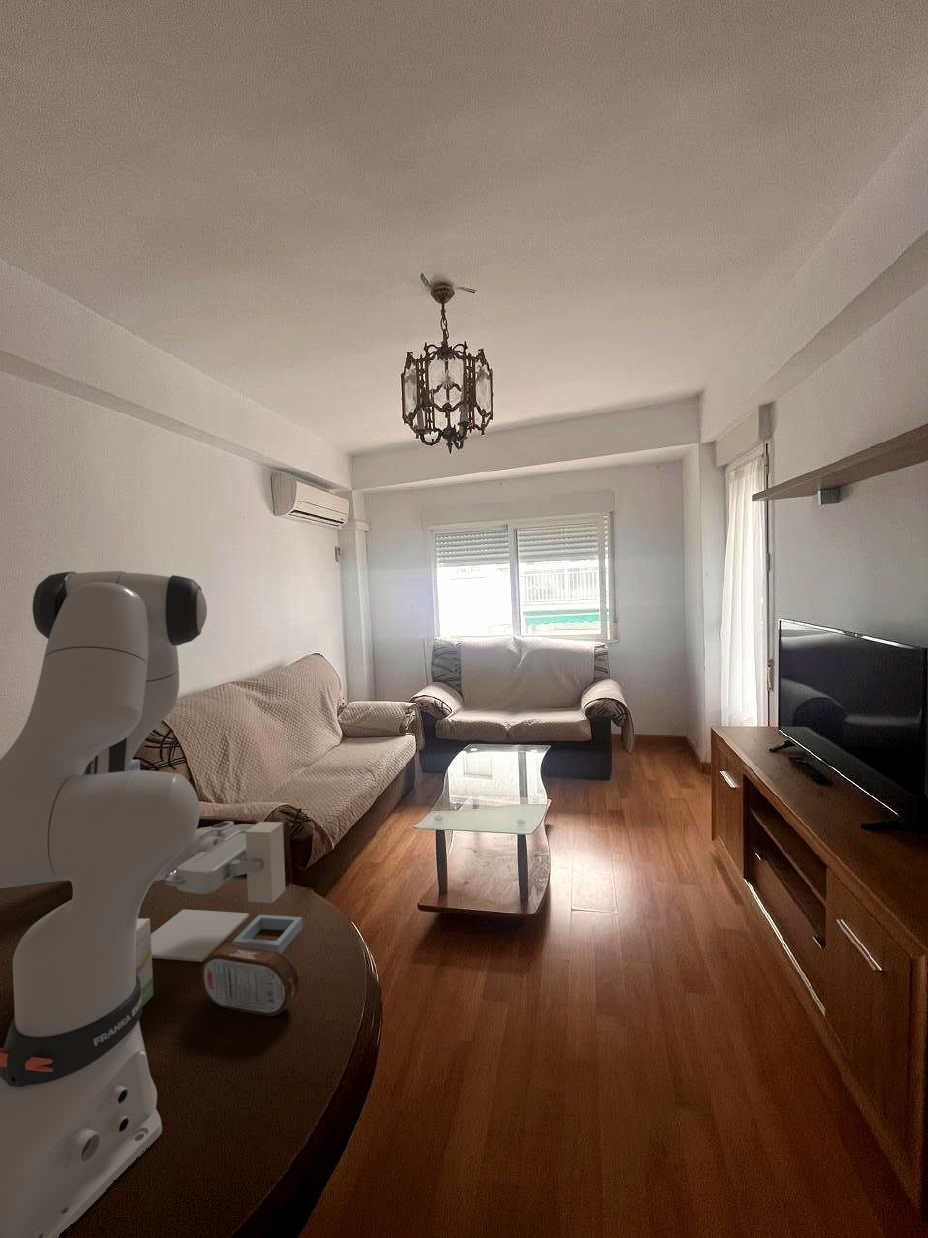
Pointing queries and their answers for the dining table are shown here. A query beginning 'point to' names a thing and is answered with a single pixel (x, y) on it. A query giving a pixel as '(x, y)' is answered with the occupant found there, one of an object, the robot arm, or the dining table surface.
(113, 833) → the robot arm
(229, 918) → the mat
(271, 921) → the frame
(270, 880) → the cream block
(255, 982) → the tin
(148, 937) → the ink box
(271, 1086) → the dining table surface
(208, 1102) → the dining table surface
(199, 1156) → the dining table surface
